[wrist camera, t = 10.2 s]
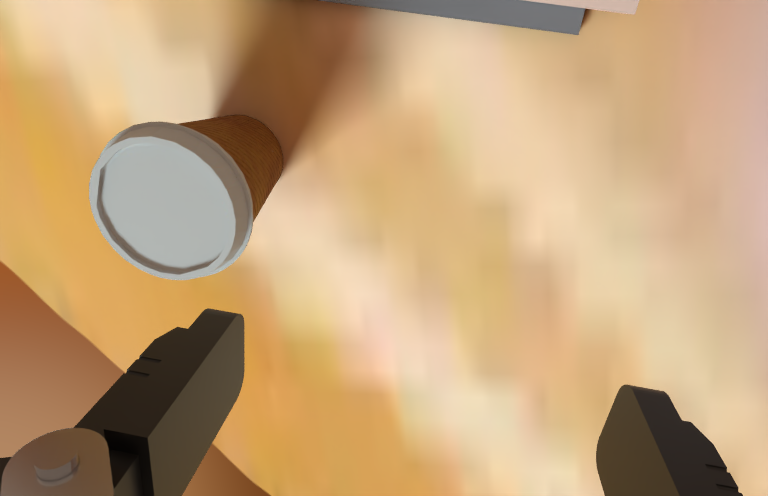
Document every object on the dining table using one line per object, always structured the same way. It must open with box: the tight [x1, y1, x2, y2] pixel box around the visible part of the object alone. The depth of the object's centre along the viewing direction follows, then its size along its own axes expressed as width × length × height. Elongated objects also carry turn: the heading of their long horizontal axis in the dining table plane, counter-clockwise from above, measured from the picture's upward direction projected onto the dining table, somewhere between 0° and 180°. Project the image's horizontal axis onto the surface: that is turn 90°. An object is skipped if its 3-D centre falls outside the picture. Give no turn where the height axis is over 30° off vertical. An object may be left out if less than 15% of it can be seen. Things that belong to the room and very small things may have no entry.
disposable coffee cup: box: [89, 115, 283, 280], centre depth 34 cm, size 10×10×12 cm
